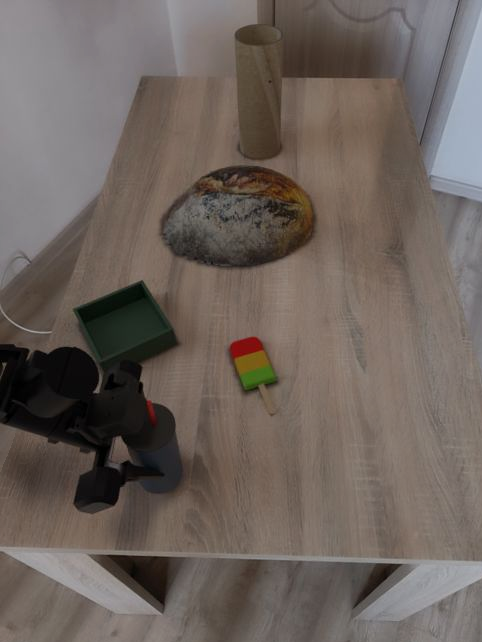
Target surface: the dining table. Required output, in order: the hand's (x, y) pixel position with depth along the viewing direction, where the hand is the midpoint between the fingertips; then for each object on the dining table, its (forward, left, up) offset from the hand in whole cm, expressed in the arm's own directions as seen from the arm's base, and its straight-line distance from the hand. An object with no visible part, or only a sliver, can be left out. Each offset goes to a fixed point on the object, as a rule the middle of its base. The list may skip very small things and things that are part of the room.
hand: (166, 451), depth 64 cm
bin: (+4, +28, -8) cm, 29 cm away
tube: (+54, +65, -8) cm, 85 cm away
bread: (+36, +44, -8) cm, 57 cm away
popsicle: (+19, +8, -8) cm, 22 cm away
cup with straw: (-2, +1, -7) cm, 7 cm away
